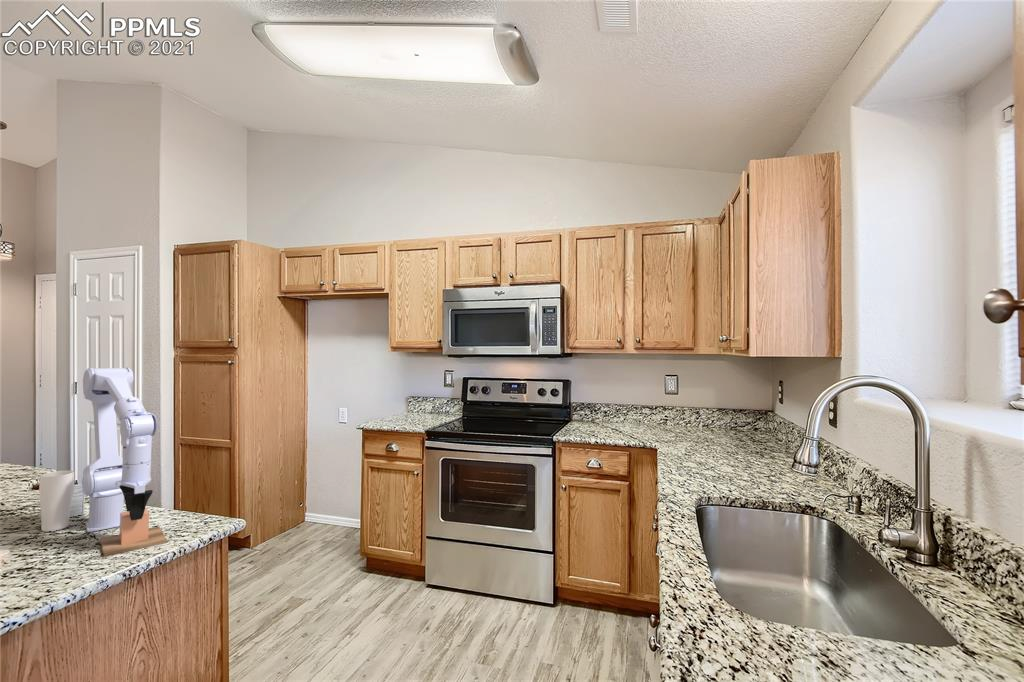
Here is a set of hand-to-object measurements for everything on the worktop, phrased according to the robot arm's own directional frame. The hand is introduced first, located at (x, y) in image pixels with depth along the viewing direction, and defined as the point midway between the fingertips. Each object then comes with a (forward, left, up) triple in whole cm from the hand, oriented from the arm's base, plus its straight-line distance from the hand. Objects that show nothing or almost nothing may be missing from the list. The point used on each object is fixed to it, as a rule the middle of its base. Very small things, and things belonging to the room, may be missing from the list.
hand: (134, 515), depth 116 cm
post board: (0, 0, -7) cm, 7 cm away
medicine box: (-35, -12, -7) cm, 38 cm away
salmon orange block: (0, 0, -6) cm, 6 cm away
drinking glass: (-25, -14, -7) cm, 29 cm away
